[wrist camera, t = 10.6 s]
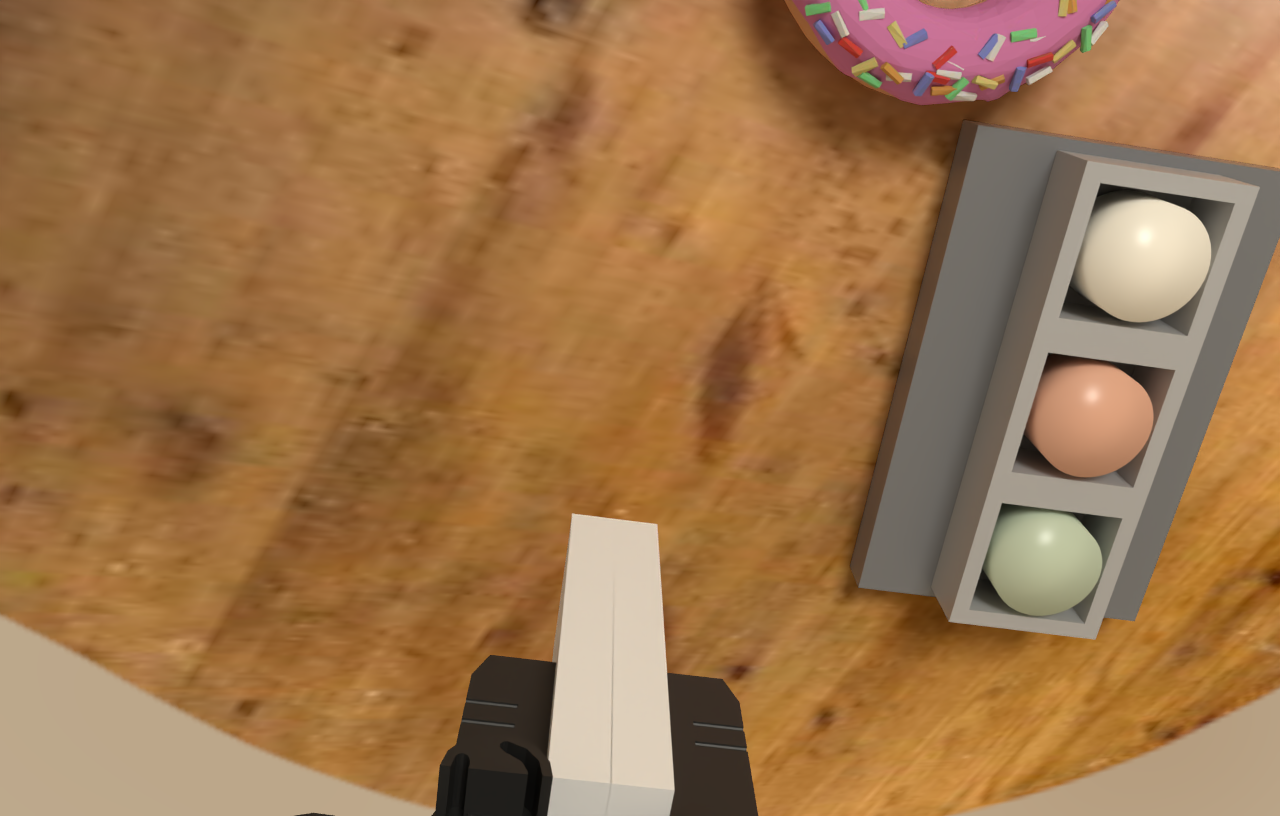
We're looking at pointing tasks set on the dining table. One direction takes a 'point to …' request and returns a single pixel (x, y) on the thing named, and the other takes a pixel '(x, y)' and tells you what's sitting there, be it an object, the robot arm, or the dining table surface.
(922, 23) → the donut
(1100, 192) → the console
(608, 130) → the dining table surface
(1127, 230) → the button ivory
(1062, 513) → the button sage
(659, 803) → the robot arm
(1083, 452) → the button terracotta
